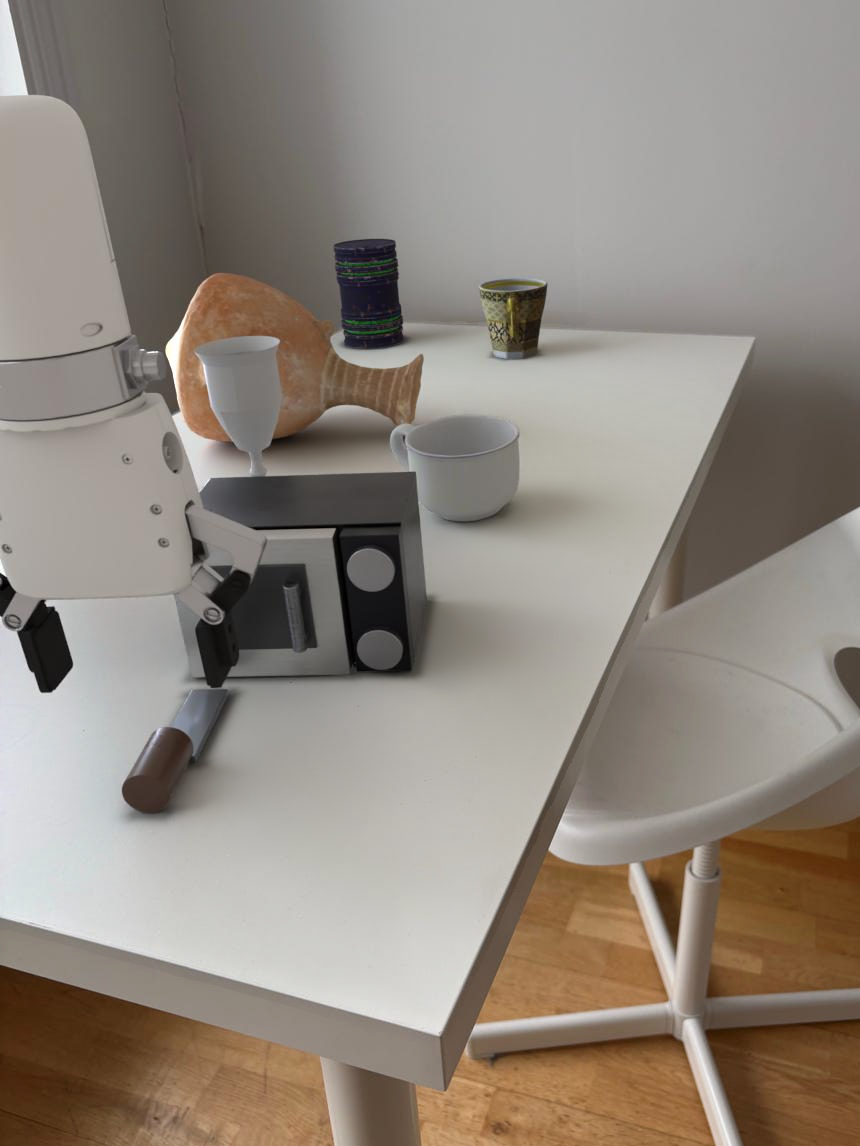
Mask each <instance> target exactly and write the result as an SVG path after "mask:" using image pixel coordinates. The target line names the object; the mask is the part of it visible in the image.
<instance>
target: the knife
mask: <svg viewBox="0 0 860 1146" xmlns="http://www.w3.org/2000/svg"><path fill="white" fill-rule="evenodd" d="M229 695H230V693H229V688H210V689H209V688H207V689H205V688H204V689H191V690H190V692H189V694H188V696H187V698H186V699H185V701H184V703H183V705H182V707H181V709H180V710H179V712H178V714H177V716H176V718H175V720H174V721H173V723H172V725H171V726H164V727H163V726H162V727H159V728H158V729H156V730H153V732H152V733H151V734H150V736H149V738H148V740H147V741H146V743H145V745H144V747H143V749H142V750H141V752H140V754H139V755H138V757H137V759H136V761H135V763H134V764H133V766H132V768H131V770H130V771H129V773H128V775H127V776H126V779H125V780H124V781H123V784H122V786H121V795H122V797H123V800H124V802H125V803H126V804H127V805H128V806H130V807H131V808H132V809H134V810H135V811H138V812H140V813H141V812H142V813H143V814H144V813H146V814H155V813H158V812H161V811H163V810H164V809H165V808H167V806H168V805H169V803H170V801H171V799H172V797H173V796H174V795H173V794H174V793H175V791H176V788H177V787H178V784H179V783H180V781H181V778H182V777H183V774H184V772H185V771H186V769H187V767H188V765H189V763H197V761H198V759H199V757H200V755H201V753H202V751H203V749H204V747H205V744H206V743H207V741H208V739H209V736H210V734H211V732H212V730H213V729H214V726H215V725H216V722H217V721H218V718H219V716H220V714H221V712H222V710H223V708H224V705H225V704H226V702H227V699H228V697H229Z"/></svg>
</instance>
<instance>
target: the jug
mask: <svg viewBox="0 0 860 1146" xmlns="http://www.w3.org/2000/svg"><path fill="white" fill-rule="evenodd" d="M335 329H336V328H335V325H334V324H333V322H332V321H330V320H328V319H327V320H324V321H318V320H317V318H315V317H314V316H313V314H312V313H311V312H310V311H309V310H308V309H307V308H306V307H304V306H303V305H302V304H301V303H300V302H298V301H297V300H295V299H293V298H292V297H290V296H289V295H288V294H286V293H284V292H283V291H281V290H279V289H277V288H275V287H273V286H271V285H268V284H266V283H264V282H262V281H259V280H257V279H255V278H252V277H250V276H246V275H242V274H235V273H228V272H216V273H214V274H212V275H210V276H208V278H206V279H205V280H203V281H202V282H201V284H199V286H198V287H197V288H196V292H195V293H194V295H193V297H192V299H191V300H190V303H189V305H188V307H187V310H186V312H185V315H184V316H183V319H182V321H181V324H180V326H179V327H178V329H177V331H176V332H175V333H174V335H173V336H172V338H171V339H169V341H168V342H167V343H166V346H165V355H166V358H167V359H168V362H169V363H168V364H169V366H170V368H171V371H172V375H173V376H172V377H173V381H174V387H175V392H176V399H177V403H178V408H179V410H180V414H181V416H182V419H183V422H184V423H185V425H186V426H187V427H188V429H189V431H190V432H193V433H194V434H196V436H198V437H201V438H203V439H207V440H211V441H216V442H217V441H218V442H223V443H234V442H233V441H232V440H231V438H230V437H229V435H228V434H227V433H226V431H225V430H224V429H223V427H222V426H221V424H220V422H219V421H218V419H217V417H216V415H215V413H214V412H213V410H212V408H211V405H210V399H209V394H208V389H207V383H206V378H205V372H204V367H203V363H202V361H201V360H200V359H199V357H198V356H197V355H196V353H195V352H194V350H195V348H197V347H198V346H200V345H202V344H205V343H208V342H212V341H216V340H221V339H227V338H233V337H243V336H270V337H274V338H277V339H279V340H280V343H279V346H278V349H277V352H276V359H277V366H278V372H279V379H280V386H281V392H282V400H281V406H280V412H279V417H278V422H277V425H276V428H275V431H274V434H273V437H272V440H275V439H282V438H286V437H291V436H292V435H294V434H296V433H297V432H299V431H301V430H304V429H306V428H307V427H309V426H310V425H311V424H313V423H314V422H316V421H318V420H319V419H320V418H321V417H322V415H324V413H325V412H326V411H328V410H329V409H332V408H335V407H336V408H337V407H339V406H358V407H361V408H366V409H368V410H371V411H373V412H375V413H379V414H381V415H382V416H383V417H385V418H388V419H390V420H391V422H392V423H393V424H394V425H395V426H396V427H397V426H399V425H401V424H412V423H413V422H414V421H415V419H416V410H417V404H418V403H417V402H418V399H419V396H420V395H419V394H420V391H421V387H422V381H421V380H422V375H423V365H424V361H425V360H424V359H425V357H424V355H423V353H420V354H418V355H417V356H416V357H415V358H414V359H413V360H412V361H411V362H409V363H407V364H405V365H402V366H396V367H389V368H388V367H387V368H377V367H368V366H361V365H358V364H356V363H352V362H349V361H347V360H346V359H343V358H341V356H339V354H338V353H337V352H336V350H335V348H334V345H333V344H332V341H331V337H332V336H333V334H335V333H334V332H335ZM403 437H405V438H406V435H404V434H403Z"/></svg>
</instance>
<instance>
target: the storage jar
mask: <svg viewBox="0 0 860 1146" xmlns="http://www.w3.org/2000/svg"><path fill="white" fill-rule="evenodd" d="M396 248H397V241H396V240H394V239H390V238H362V239H352V240H346V241H340V242H337V243H335V244H333V252H334V261H335V262H334V270H335V272H336V282H337V284H338V285H339V295H340V304H341V308H340V316H341V320H340V321H341V328H342V329H343V330H342V333H343V336H344V340H343V342H344V343H343V344H344V346H345V347H347V348H350V349H357V350H373V349H376V350H377V349H384V348H389V347H394V346H398V345H399V344H402V343H403V342H404V341H405V336H404V334H403V333H404V332H403V331H404V326H403V325H404V317H403V314H402V311H403V310H402V305H401V303H400V294H399V283H398V281H399V279H400V277H399V276H400V272H399V268H398V267H399V260H398V258H397V257H398V254H397V250H396Z"/></svg>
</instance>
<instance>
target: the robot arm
mask: <svg viewBox="0 0 860 1146" xmlns="http://www.w3.org/2000/svg"><path fill="white" fill-rule="evenodd" d="M167 368H168V367H167V360H166V357H165V356H164V354H163V352H161V351H148V350H147V349H141V347H140V344H139V341H138V338H137V334H132V329H131V325H130V319H129V315H128V312H127V307H126V302H125V298H124V293H123V289H122V283H121V279H120V275H119V270H118V266H117V261H116V258H115V252H114V248H113V244H112V239H111V235H110V230H109V226H108V222H107V217H106V213H105V208H104V204H103V199H102V195H101V190H100V186H99V182H98V178H97V173H96V168H95V163H94V160H93V155H92V151H91V146H90V143H89V139H88V135H87V131H86V128H85V126H84V124H83V121H82V120H81V118H80V116H79V115H78V113H77V112H76V111H75V109H73V107H72V106H71V105H70V104H68V103H67V102H65V101H64V100H63V99H60V98H57V97H54V96H50V95H43V94H41V95H40V94H23V95H22V94H19V95H18V94H17V95H14V94H13V95H0V563H1V565H2V568H3V571H4V574H3V573H1V572H0V617H1V622H2V624H3V626H4V627H5V628H6V629H7V630H8V631H11V632H16V633H17V636H18V640H19V644H20V646H21V649H22V652H23V654H24V658H25V661H26V665H27V667H28V670H29V671H30V673H33V675H34V678H35V681H36V684H37V687H38V690H39V692H40V693H41V694H52V693H53V692H54V691H56V690H57V688H58V687H59V686H60V685H61V683H62V682H63V681H64V679H65V678H67V676H68V674H69V673H70V672H71V670H72V669H73V668H74V660H73V657H72V653H71V651H70V647H69V644H68V640H67V636H66V633H65V630H64V626H63V623H62V620H61V617H60V613H59V612H58V610H56V607H55V606H54V605H53V606H52V605H51V606H49V605H47V604H46V603H47V601H65V600H66V601H67V600H69V601H71V600H102V599H126V598H127V599H129V598H150V597H152V598H153V597H164V596H171V595H173V597H174V596H175V597H177V598H178V599H179V600H180V601H181V602H183V603H184V604H185V605H186V606H187V607H188V608H190V609H191V610H192V611H193V612H194V613H196V614H197V615H198V616H199V617H200V618H201V619H200V620H199V622H198V624H197V625H196V627H195V634H196V638H197V643H198V647H199V652H200V656H201V660H202V665H203V669H204V674H205V677H204V678H205V682H206V685H207V686H208V687H210V689H222V687H223V685H224V684H225V681H226V679H227V678H228V677H227V675H228V673H229V672H230V670H231V668H232V667H233V666H236V664H237V662H238V660H239V646H238V642H237V637H236V632H235V627H234V622H233V617H232V612H231V609H232V608H233V606H234V605H235V604H236V603H237V602H238V601H239V600H240V598H241V597H242V596H243V595H244V594H245V593H246V591H247V590H248V588H249V586H250V585H251V583H252V581H253V579H254V577H255V575H256V571H257V569H258V566H259V564H260V561H261V558H262V555H263V553H264V550H265V547H266V545H267V538H266V536H265V535H264V534H263V533H261V532H259V531H256V530H254V529H251V528H249V527H246V526H244V525H242V524H239V523H237V522H234V521H232V520H229V519H227V518H225V517H222V516H220V515H217V514H215V513H212V512H210V511H208V510H205V509H204V508H203V505H202V501H201V498H200V494H199V492H200V491H199V487H198V485H197V482H196V478H195V475H194V472H193V468H192V466H191V463H190V460H189V456H188V454H187V451H186V449H185V446H184V443H183V441H182V438H181V435H180V432H179V430H178V427H177V425H176V423H175V420H174V418H173V415H172V413H171V411H170V409H169V406H168V405H167V402H166V400H165V399H164V396H163V395H162V394H161V393H158V392H146V391H145V390H146V388H147V387H148V384H150V383H151V382H152V381H160V380H165V379H166V377H167V372H168V369H167ZM212 546H215V547H217V548H220V549H222V550H225V551H227V552H229V553H230V554H231V555H232V556H233V559H234V560H233V565H232V569H231V571H230V572H229V574H228V575H227V576H226V577H225V578H222V577H221V576H220V575H219V574H218V573H217V572H216V571H214V570H213V569H212V568H211V567H210V566H209V565H207V564H206V563H205V562H204V561H205V560H206V559H208V558H209V557H210V554H211V550H212Z"/></svg>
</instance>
